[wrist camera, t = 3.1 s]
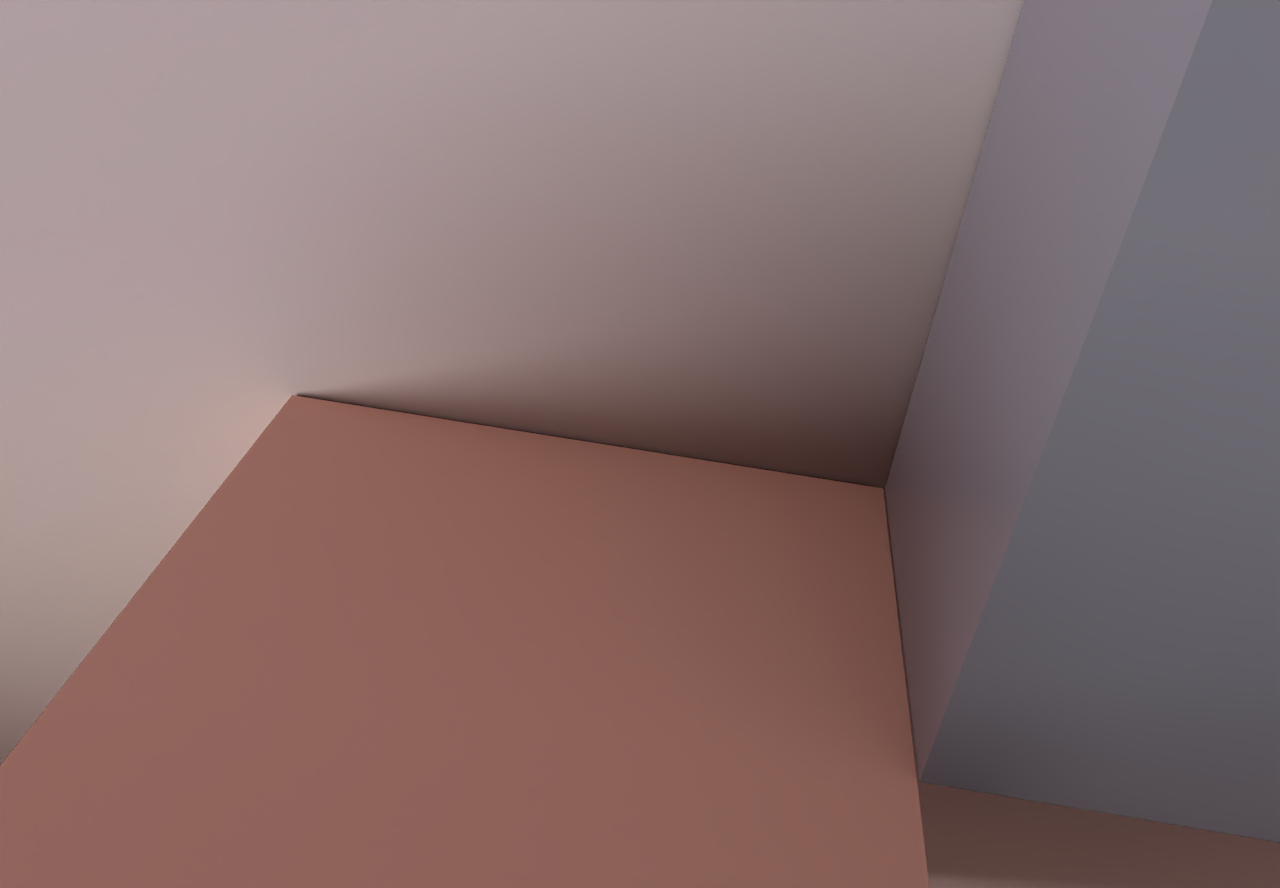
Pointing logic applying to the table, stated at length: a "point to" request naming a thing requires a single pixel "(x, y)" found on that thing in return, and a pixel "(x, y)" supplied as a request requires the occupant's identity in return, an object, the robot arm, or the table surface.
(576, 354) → the table surface
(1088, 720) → the plinth
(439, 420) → the cube
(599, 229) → the table surface
